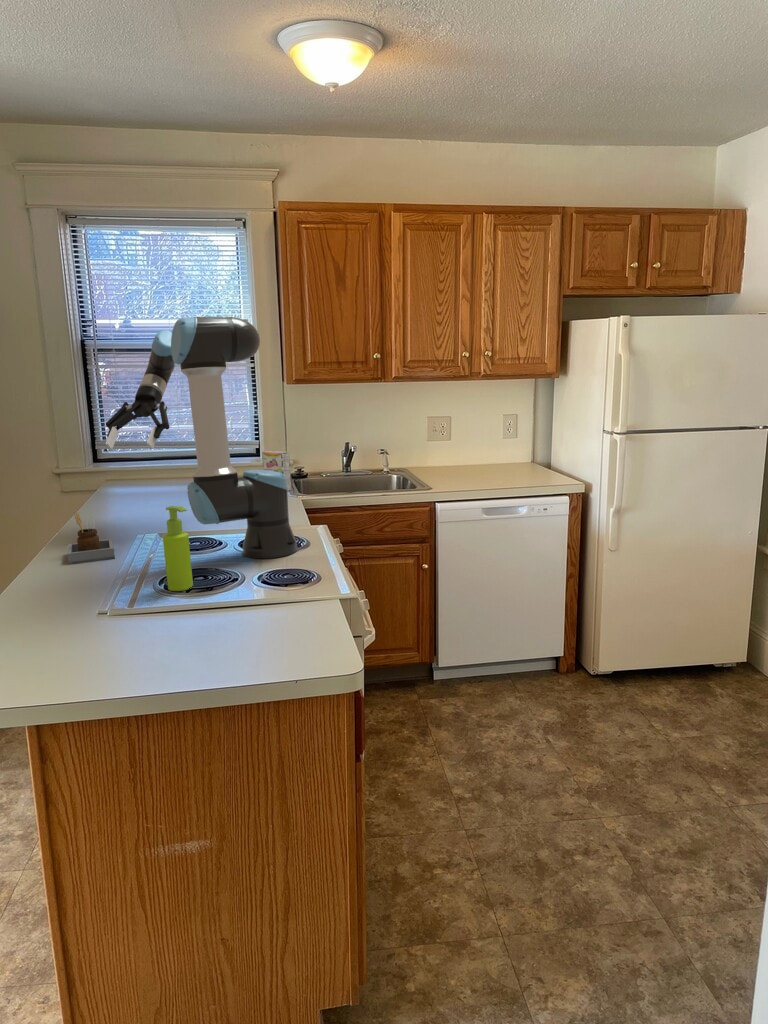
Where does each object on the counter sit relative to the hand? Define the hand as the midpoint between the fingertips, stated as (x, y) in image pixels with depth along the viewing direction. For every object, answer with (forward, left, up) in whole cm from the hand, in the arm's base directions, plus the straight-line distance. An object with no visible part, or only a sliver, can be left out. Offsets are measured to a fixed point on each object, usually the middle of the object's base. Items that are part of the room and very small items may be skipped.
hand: (129, 446), depth 209 cm
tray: (-9, +14, -30) cm, 34 cm away
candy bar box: (+66, -60, -30) cm, 94 cm away
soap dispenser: (-52, -6, -30) cm, 60 cm away
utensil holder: (-9, +14, -29) cm, 34 cm away
